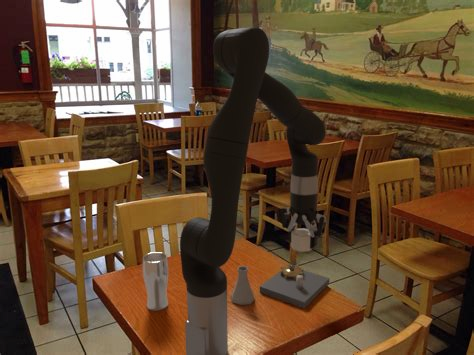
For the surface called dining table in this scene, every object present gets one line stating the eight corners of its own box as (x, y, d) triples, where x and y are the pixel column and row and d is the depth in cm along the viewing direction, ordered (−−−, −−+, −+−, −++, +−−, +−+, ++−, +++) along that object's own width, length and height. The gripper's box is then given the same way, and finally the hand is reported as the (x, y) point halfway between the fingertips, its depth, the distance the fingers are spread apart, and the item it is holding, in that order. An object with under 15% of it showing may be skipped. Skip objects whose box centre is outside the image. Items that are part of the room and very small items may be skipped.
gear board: (304, 308, 116) (304, 291, 114) (259, 292, 124) (259, 275, 123) (329, 283, 129) (330, 268, 127) (287, 270, 137) (287, 255, 136)
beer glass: (145, 313, 114) (142, 264, 110) (144, 300, 120) (141, 253, 116) (171, 309, 115) (168, 260, 112) (168, 296, 122) (166, 250, 118)
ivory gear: (306, 253, 115) (307, 238, 113) (287, 248, 118) (288, 233, 117) (316, 245, 119) (316, 231, 118) (298, 240, 123) (298, 226, 121)
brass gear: (296, 282, 126) (296, 273, 125) (275, 275, 130) (275, 266, 130) (307, 272, 132) (307, 264, 131) (287, 266, 136) (287, 258, 135)
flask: (252, 307, 116) (253, 275, 114) (228, 304, 118) (227, 272, 115) (256, 294, 123) (257, 263, 121) (233, 291, 125) (233, 261, 122)
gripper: (274, 188, 115) (274, 243, 120) (321, 197, 107) (319, 256, 111) (288, 182, 121) (287, 235, 126) (333, 190, 113) (331, 246, 117)
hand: (302, 244), depth 118 cm, fingers closed on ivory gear, 6 cm apart
